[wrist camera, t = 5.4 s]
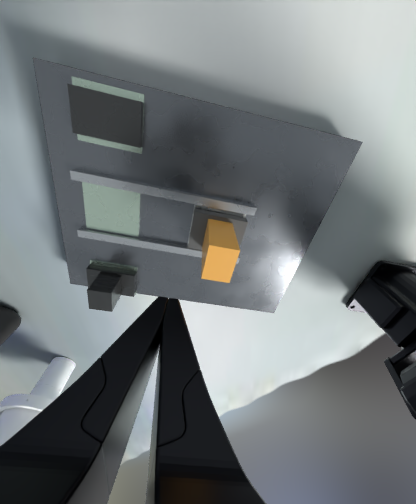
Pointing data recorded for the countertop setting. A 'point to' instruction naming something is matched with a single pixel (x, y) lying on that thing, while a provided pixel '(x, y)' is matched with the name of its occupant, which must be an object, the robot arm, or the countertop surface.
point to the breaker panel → (179, 188)
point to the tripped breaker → (217, 242)
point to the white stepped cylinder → (34, 398)
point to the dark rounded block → (8, 323)
